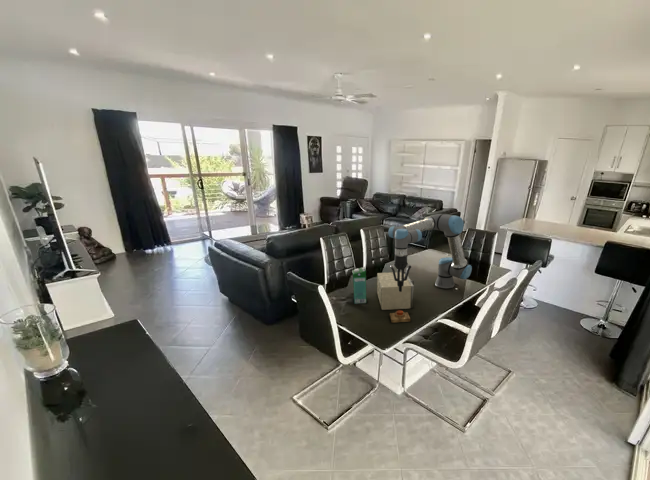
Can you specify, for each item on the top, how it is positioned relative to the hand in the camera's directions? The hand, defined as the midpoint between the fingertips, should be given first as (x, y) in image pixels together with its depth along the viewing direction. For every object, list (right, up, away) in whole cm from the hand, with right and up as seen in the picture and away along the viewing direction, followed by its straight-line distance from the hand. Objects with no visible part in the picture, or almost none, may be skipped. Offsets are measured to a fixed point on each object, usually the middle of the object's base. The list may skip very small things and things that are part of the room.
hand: (400, 290), depth 202 cm
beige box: (-1, -8, +33) cm, 34 cm away
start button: (0, -15, +6) cm, 16 cm away
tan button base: (0, -18, +7) cm, 20 cm away
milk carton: (-27, -8, +34) cm, 44 cm away
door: (+11, -9, +31) cm, 34 cm away
